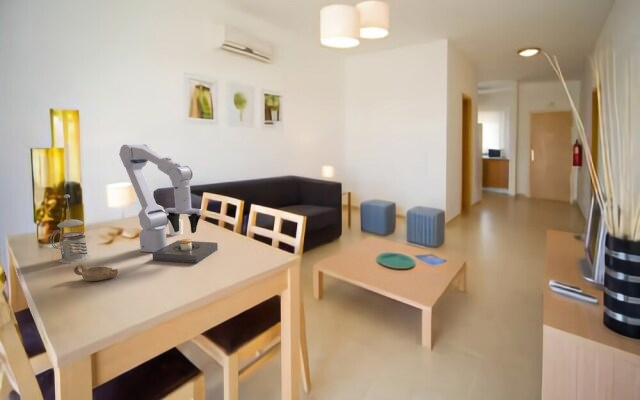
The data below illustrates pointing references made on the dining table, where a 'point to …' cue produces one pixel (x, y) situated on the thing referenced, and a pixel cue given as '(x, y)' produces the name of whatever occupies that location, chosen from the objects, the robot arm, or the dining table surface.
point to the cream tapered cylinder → (173, 229)
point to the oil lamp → (96, 273)
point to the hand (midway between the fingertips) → (185, 232)
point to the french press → (75, 239)
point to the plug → (186, 244)
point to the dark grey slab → (185, 252)
